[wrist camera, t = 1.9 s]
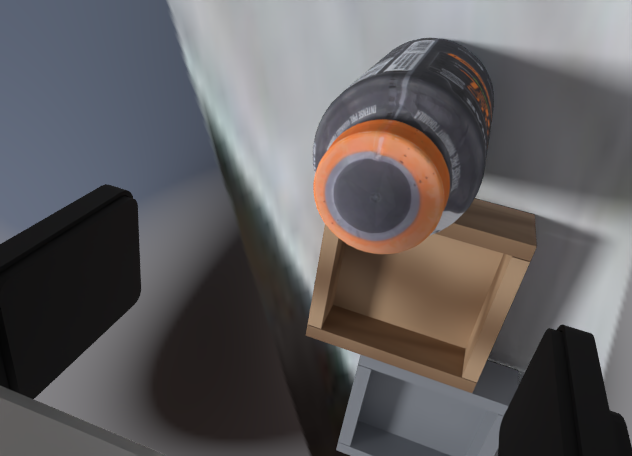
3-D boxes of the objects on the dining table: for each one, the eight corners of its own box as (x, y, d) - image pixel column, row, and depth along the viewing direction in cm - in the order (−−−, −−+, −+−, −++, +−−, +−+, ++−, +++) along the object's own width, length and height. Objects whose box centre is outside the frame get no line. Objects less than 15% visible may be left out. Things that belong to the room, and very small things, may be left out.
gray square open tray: (372, 322, 32) (359, 358, 29) (518, 370, 30) (518, 413, 27) (348, 415, 36) (334, 453, 34) (473, 462, 35) (469, 506, 32)
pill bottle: (507, 143, 24) (502, 271, 15) (389, 172, 27) (320, 297, 18) (476, 15, 22) (446, 69, 13) (350, 60, 25) (250, 133, 15)
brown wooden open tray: (349, 164, 27) (331, 188, 25) (534, 214, 25) (536, 246, 23) (323, 303, 32) (305, 335, 30) (476, 353, 30) (472, 393, 28)
